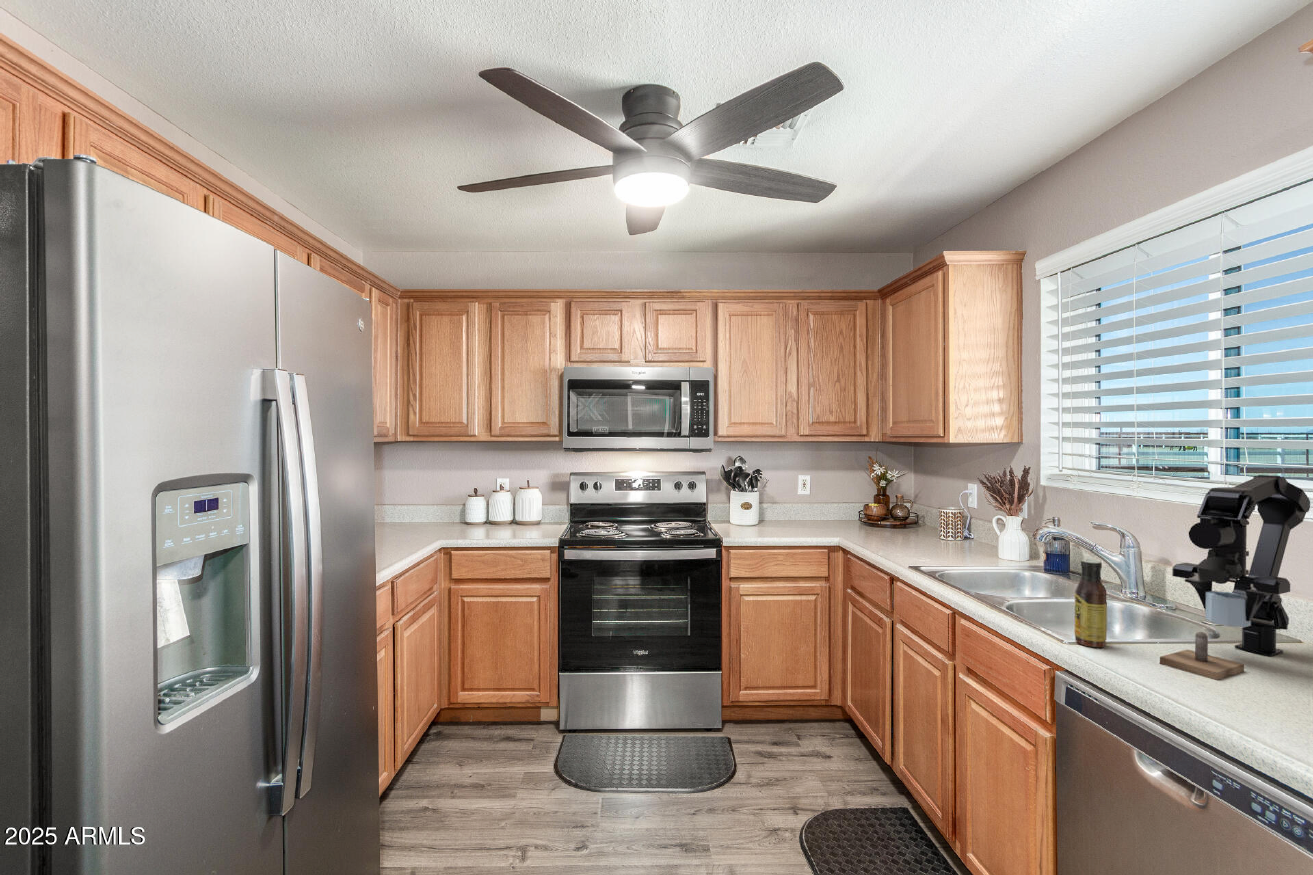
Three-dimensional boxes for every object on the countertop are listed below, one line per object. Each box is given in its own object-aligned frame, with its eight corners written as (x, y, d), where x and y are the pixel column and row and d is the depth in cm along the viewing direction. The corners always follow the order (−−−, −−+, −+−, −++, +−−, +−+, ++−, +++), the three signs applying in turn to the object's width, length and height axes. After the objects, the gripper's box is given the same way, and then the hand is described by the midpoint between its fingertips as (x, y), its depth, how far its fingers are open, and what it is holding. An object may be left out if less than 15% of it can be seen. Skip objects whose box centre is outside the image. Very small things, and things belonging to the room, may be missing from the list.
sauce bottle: (1076, 638, 153) (1076, 556, 153) (1107, 643, 149) (1108, 559, 149) (1072, 645, 148) (1073, 560, 148) (1105, 650, 144) (1106, 564, 144)
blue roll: (1216, 616, 144) (1216, 589, 144) (1255, 624, 137) (1255, 596, 137) (1200, 619, 141) (1200, 592, 141) (1239, 628, 134) (1239, 600, 134)
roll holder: (1187, 656, 141) (1187, 622, 141) (1243, 671, 132) (1244, 635, 132) (1159, 663, 137) (1160, 628, 136) (1216, 679, 128) (1217, 642, 127)
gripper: (1159, 541, 144) (1158, 609, 144) (1266, 556, 127) (1265, 633, 127) (1185, 538, 149) (1185, 604, 149) (1292, 551, 132) (1291, 626, 132)
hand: (1227, 616), depth 139 cm, fingers closed on blue roll, 7 cm apart
